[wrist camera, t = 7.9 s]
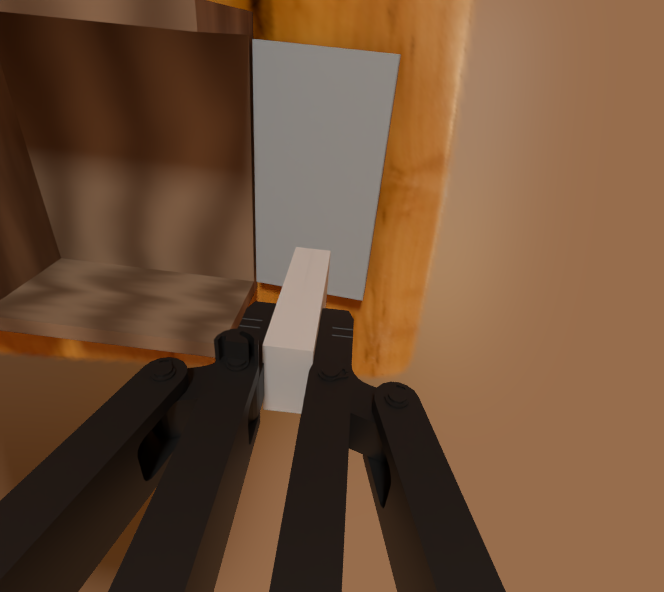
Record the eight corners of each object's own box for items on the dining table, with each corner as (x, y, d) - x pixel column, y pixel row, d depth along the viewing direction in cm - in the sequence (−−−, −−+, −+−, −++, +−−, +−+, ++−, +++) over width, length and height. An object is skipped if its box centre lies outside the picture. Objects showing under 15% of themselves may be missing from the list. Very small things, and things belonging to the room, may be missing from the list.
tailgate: (256, 281, 34) (362, 300, 33) (252, 39, 24) (400, 54, 23) (261, 274, 35) (364, 293, 34) (259, 39, 25) (401, 54, 24)
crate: (59, 263, 36) (-31, 326, 28) (-30, -17, 25) (-217, -44, 17) (257, 287, 36) (223, 358, 28) (252, 11, 25) (194, -3, 17)
